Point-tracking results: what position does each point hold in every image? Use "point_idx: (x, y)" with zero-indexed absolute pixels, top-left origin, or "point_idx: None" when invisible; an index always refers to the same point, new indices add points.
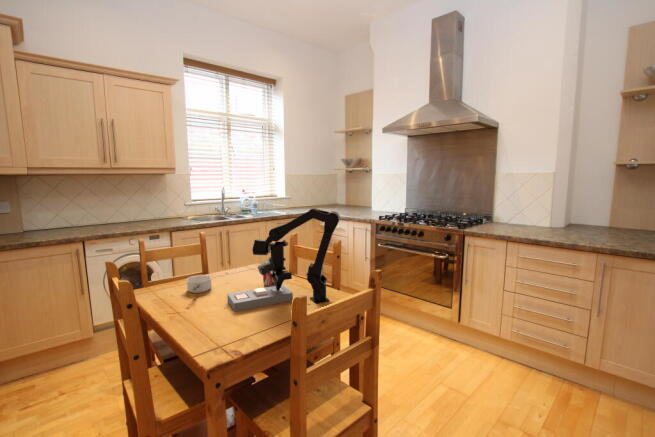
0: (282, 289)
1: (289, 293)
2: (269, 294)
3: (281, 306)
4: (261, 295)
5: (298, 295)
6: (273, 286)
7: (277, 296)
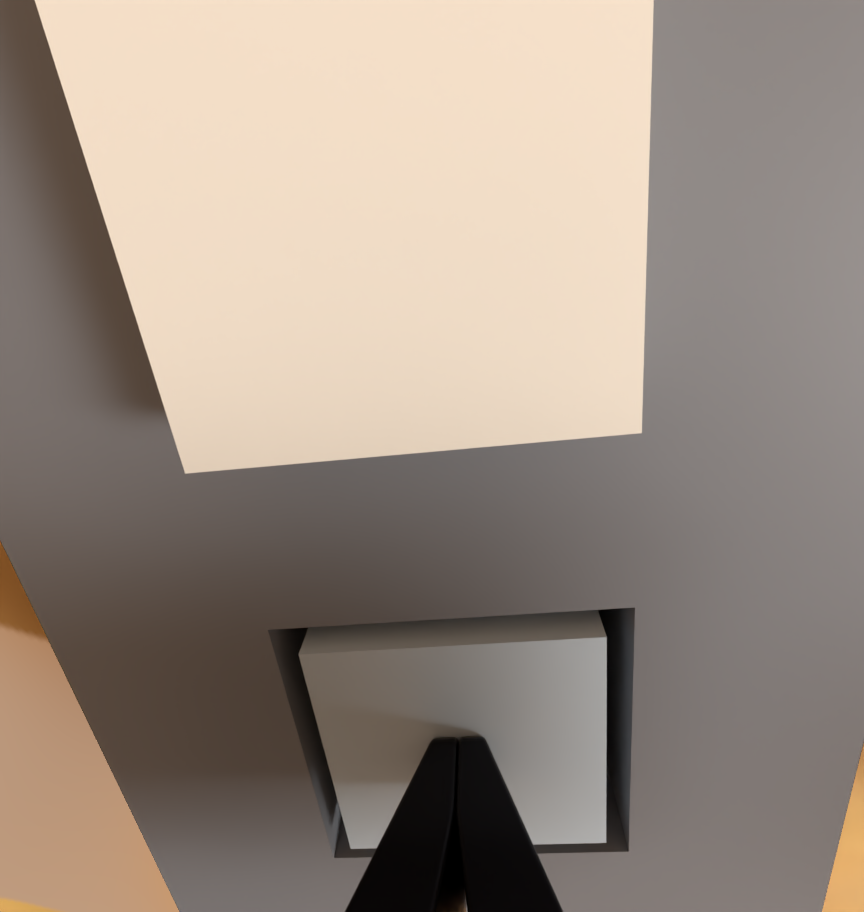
0: None
1: (166, 871)
2: (177, 488)
3: (5, 557)
4: None
5: None
6: (834, 732)
7: (72, 633)
